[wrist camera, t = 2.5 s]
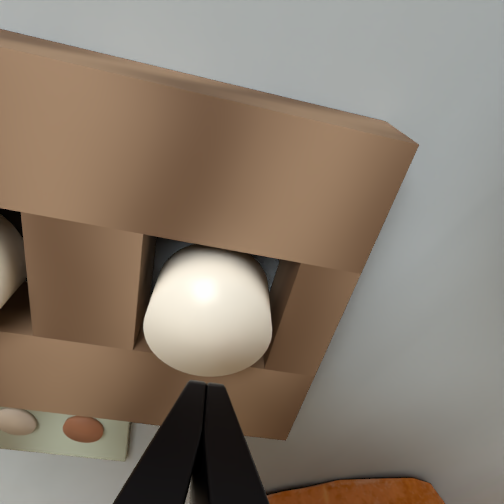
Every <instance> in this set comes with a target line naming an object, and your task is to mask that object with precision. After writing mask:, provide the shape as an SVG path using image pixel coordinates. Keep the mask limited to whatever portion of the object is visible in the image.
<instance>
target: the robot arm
mask: <svg viewBox="0 0 504 504" xmlns="http://www.w3.org/2000/svg"><path fill="white" fill-rule="evenodd" d="M190 481H191V485H190ZM189 485H190V504H270V503H269V500H268V498H267V495H266V493H265V490H264V487H263V485H262V482H261V479H260V477H259V474H258V471H257V469H256V466H255V463H254V461H253V458H252V456H251V453H250V450H249V448H248V445H247V442H246V440H245V437H244V434H243V432H242V429H241V426H240V424H239V421H238V419H237V416H236V413H235V411H234V408H233V405H232V403H231V400H230V397H229V395H228V392H227V390H226V387H225V386H224V385H223V384H219V383H212V382H209V383H207V385H206V383H205V382H204V381H197V380H189V381H188V382H187V384H186V386H185V387H184V389H183V390H182V392H181V394H180V395H179V397H178V399H177V400H176V402H175V403H174V405H173V407H172V408H171V410H170V412H169V413H168V415H167V416H166V418H165V420H164V421H163V423H162V425H161V426H160V428H159V429H158V431H157V433H156V434H155V436H154V438H153V439H152V441H151V442H150V444H149V446H148V447H147V449H146V451H145V452H144V454H143V455H142V457H141V459H140V460H139V462H138V464H137V465H136V467H135V468H134V470H133V472H132V473H131V475H130V477H129V478H128V480H127V481H126V483H125V485H124V486H123V488H122V490H121V491H120V493H119V494H118V496H117V498H116V499H115V501H114V503H113V504H185V500H186V497H187V493H188V489H189Z"/></svg>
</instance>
